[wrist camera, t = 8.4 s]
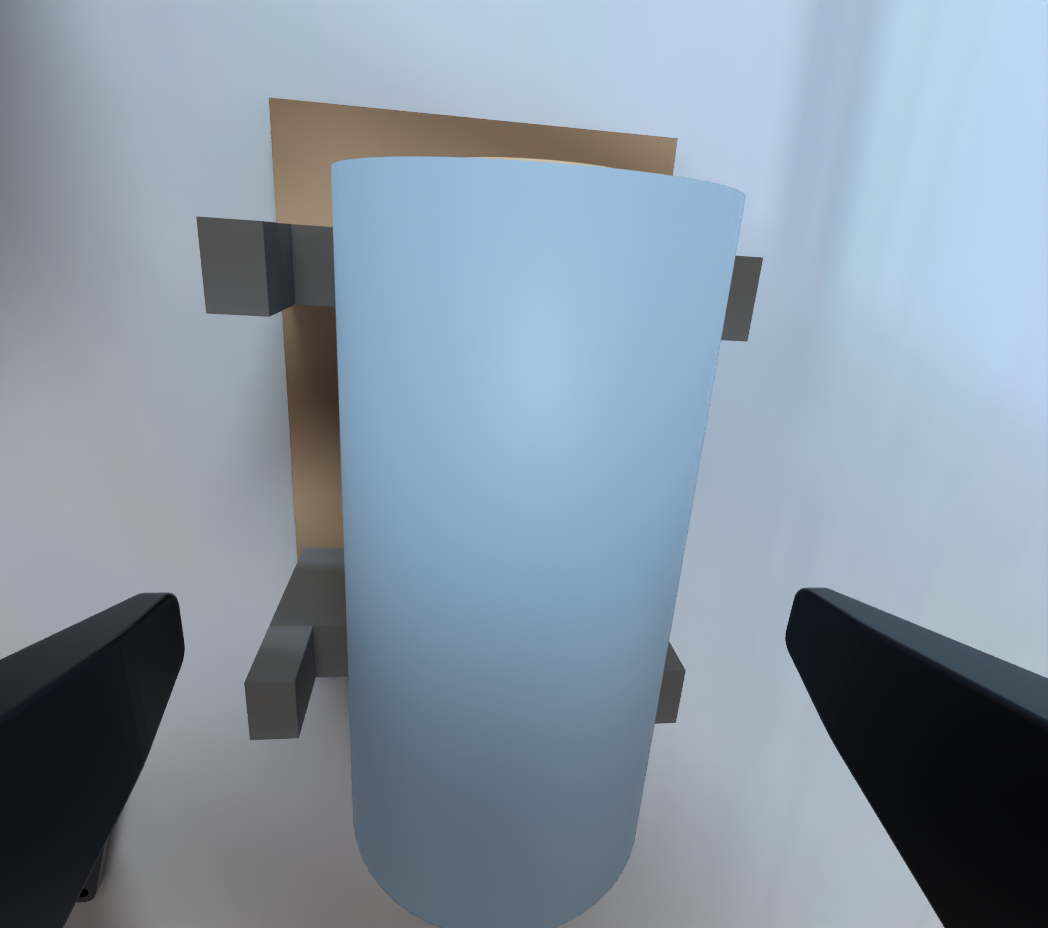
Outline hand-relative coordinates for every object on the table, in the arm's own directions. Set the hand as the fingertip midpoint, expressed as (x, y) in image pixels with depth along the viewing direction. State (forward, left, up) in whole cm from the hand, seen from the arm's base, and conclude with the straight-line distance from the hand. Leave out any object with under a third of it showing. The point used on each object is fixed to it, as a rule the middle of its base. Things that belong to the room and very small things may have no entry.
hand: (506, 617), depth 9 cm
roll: (0, 0, -3) cm, 3 cm away
